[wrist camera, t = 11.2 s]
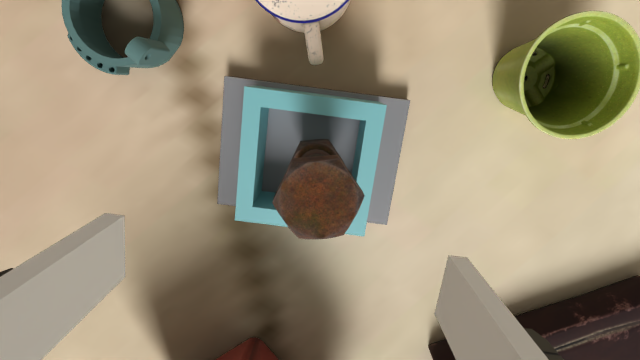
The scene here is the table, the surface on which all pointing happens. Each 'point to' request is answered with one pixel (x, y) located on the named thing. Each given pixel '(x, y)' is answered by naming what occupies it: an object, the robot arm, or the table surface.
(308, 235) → the bolt
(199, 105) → the table surface
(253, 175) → the socket
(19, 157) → the table surface
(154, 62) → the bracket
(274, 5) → the teacup with lid
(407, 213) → the table surface
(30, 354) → the robot arm
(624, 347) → the diary
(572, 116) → the plant pot
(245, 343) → the plant pot
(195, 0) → the table surface
